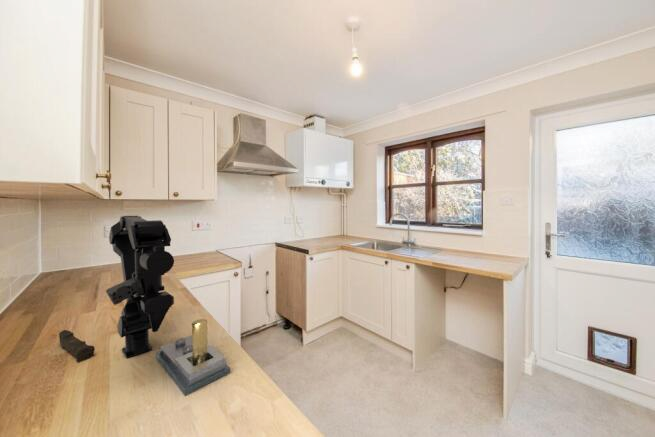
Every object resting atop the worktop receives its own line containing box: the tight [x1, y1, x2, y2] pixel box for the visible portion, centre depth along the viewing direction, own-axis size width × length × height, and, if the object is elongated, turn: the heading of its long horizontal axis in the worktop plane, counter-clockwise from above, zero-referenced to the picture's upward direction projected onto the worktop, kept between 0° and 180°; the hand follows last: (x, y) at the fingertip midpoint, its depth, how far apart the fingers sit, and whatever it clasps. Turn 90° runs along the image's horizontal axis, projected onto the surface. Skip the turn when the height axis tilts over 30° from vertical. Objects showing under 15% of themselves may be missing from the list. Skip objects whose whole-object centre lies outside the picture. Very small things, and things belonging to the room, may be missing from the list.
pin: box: [191, 318, 208, 366], centre depth 66 cm, size 4×4×12 cm
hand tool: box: [58, 329, 96, 363], centre depth 77 cm, size 19×4×5 cm, turn 59°
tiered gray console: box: [155, 335, 231, 397], centre depth 70 cm, size 22×11×4 cm, turn 49°
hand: (149, 325), depth 67 cm, fingers open, 9 cm apart
